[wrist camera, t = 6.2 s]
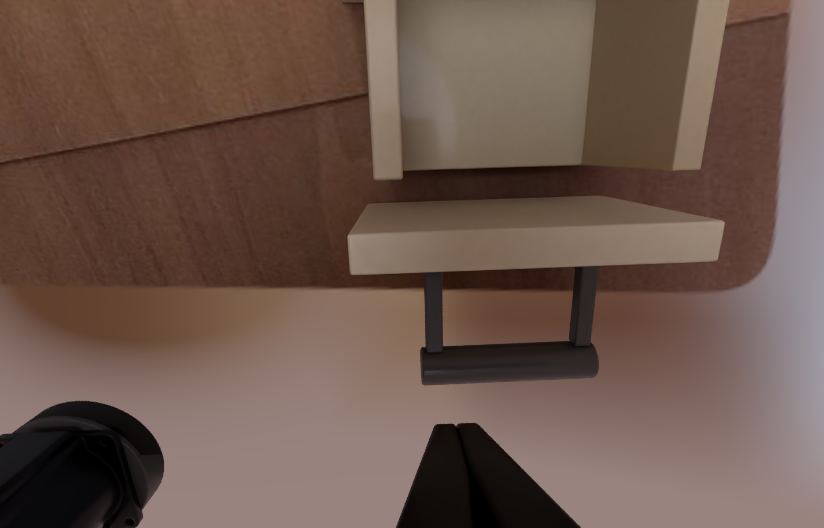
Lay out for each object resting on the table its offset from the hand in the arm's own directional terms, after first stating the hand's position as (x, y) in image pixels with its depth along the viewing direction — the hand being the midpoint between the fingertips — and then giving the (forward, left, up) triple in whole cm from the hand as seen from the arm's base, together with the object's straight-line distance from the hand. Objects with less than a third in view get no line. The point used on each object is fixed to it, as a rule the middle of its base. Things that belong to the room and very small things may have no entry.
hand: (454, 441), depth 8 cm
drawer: (+6, -3, -11) cm, 13 cm away
